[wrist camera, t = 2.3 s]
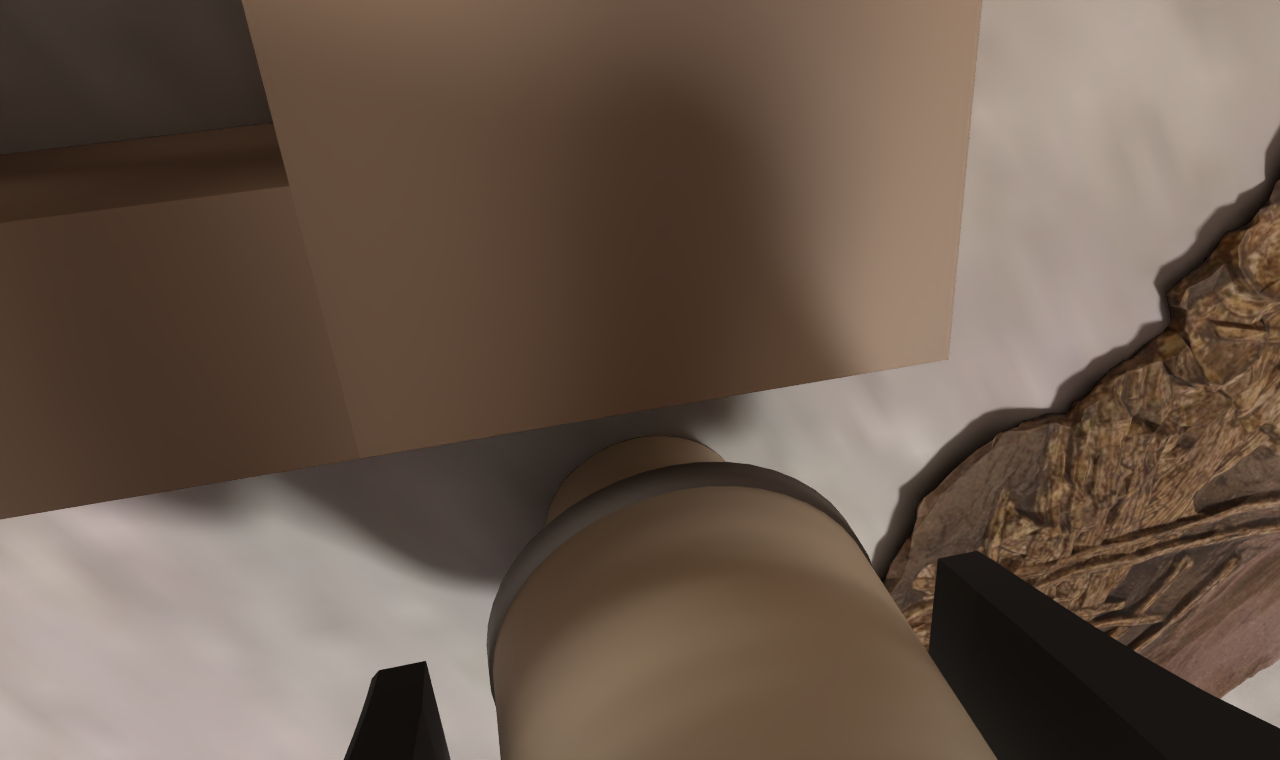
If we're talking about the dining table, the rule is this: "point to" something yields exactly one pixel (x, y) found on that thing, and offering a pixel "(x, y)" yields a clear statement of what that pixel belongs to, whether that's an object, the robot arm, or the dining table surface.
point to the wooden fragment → (1145, 485)
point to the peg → (708, 625)
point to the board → (483, 234)
